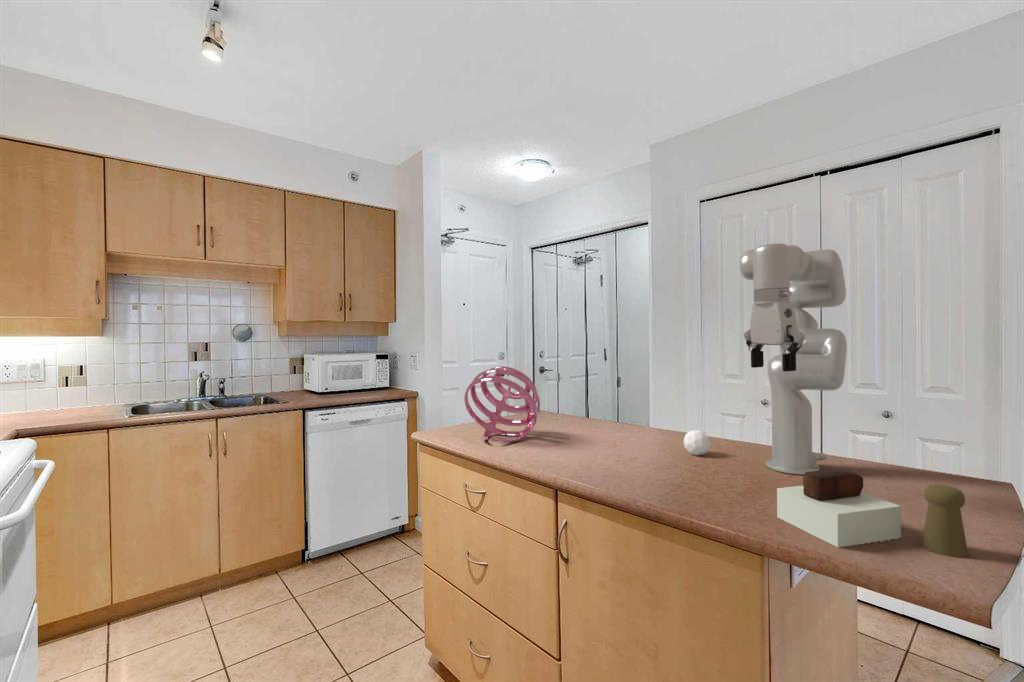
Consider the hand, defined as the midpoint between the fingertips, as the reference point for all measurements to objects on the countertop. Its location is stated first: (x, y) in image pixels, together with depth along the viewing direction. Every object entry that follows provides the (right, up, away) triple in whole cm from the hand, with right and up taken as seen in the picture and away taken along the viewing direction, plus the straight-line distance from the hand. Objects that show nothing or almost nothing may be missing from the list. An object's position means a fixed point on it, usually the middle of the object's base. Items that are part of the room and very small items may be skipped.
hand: (772, 369), depth 111 cm
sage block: (+1, -30, -20) cm, 36 cm away
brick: (+1, -24, -20) cm, 31 cm away
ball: (-5, -29, +34) cm, 45 cm away
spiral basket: (-65, -30, +61) cm, 94 cm away
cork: (+13, -30, -30) cm, 44 cm away
